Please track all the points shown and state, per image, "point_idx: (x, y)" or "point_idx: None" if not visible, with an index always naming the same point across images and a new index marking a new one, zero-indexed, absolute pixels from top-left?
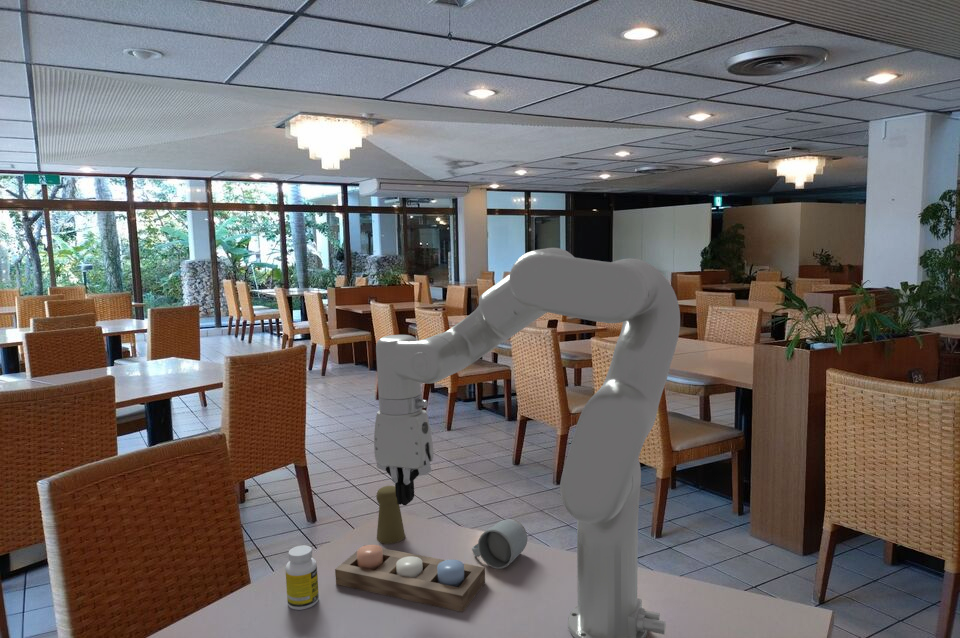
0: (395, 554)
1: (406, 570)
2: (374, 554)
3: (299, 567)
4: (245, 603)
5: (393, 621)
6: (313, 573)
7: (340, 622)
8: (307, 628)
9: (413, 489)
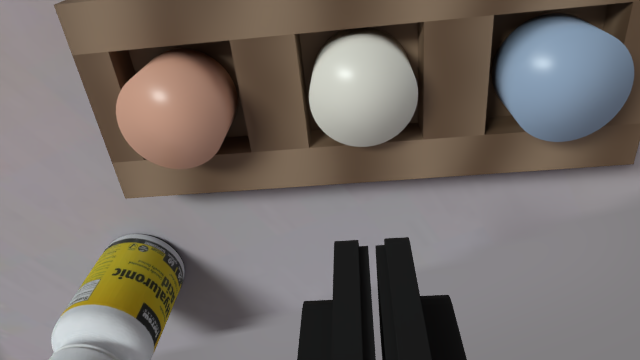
0: (238, 19)
1: (380, 142)
2: (212, 138)
3: None
4: (34, 311)
5: (420, 240)
6: (155, 332)
7: (296, 286)
8: (244, 323)
9: (460, 350)
